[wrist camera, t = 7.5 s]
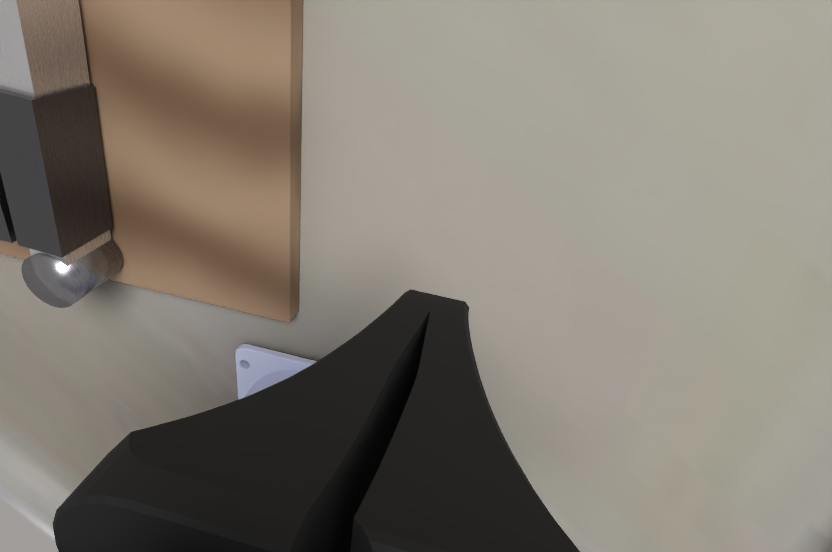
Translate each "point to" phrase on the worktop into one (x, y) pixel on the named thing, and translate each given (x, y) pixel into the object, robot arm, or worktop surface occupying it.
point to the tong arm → (53, 151)
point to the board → (201, 146)
